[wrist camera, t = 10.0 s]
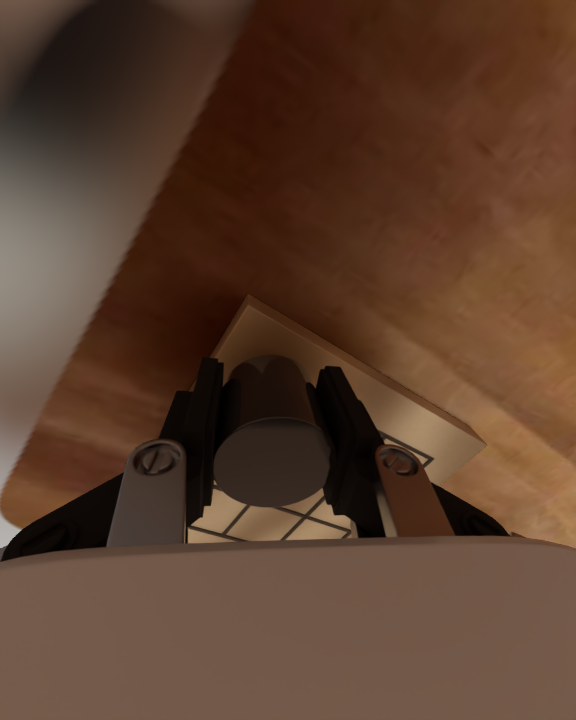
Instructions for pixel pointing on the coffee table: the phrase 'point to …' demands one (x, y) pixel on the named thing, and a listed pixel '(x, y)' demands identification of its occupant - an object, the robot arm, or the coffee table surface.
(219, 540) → the board
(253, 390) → the dark brown cylinder
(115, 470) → the coffee table surface
